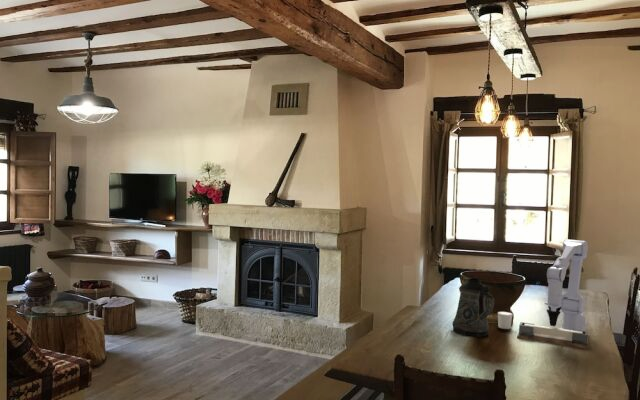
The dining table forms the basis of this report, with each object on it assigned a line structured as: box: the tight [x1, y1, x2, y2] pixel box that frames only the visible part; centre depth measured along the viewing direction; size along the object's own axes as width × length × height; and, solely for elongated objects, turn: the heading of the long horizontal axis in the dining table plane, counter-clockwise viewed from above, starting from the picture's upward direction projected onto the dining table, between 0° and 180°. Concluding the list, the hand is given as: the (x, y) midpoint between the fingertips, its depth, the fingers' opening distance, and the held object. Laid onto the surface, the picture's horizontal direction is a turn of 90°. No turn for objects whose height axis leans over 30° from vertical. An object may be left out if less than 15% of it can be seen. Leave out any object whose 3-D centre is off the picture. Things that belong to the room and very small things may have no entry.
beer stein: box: [451, 277, 495, 338], centre depth 250 cm, size 16×19×25 cm
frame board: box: [516, 332, 589, 350], centre depth 243 cm, size 29×10×1 cm, turn 64°
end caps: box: [518, 321, 589, 345], centre depth 243 cm, size 28×6×4 cm, turn 64°
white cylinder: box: [497, 311, 513, 330], centre depth 262 cm, size 7×7×7 cm
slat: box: [524, 323, 583, 339], centre depth 243 cm, size 24×3×3 cm, turn 64°
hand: (553, 323), depth 243 cm, fingers open, 7 cm apart
